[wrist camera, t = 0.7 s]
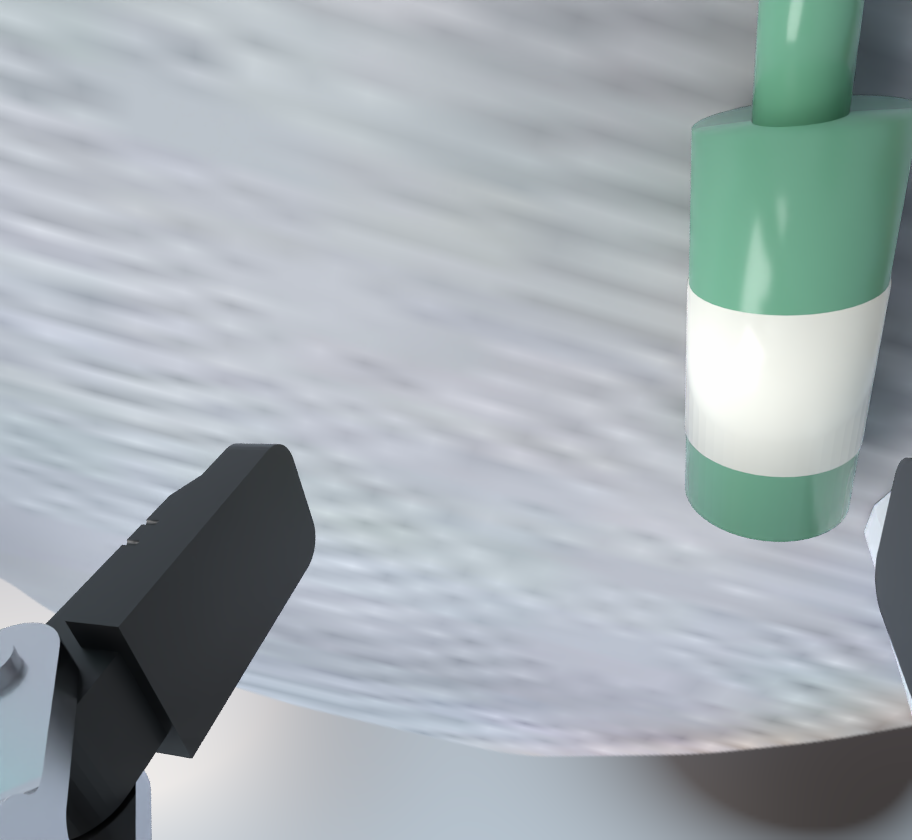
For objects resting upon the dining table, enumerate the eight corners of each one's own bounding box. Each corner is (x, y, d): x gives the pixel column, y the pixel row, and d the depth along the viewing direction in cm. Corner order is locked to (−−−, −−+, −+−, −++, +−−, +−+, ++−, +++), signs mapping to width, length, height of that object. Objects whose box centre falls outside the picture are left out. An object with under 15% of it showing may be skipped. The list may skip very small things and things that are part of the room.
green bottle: (676, -86, 20) (721, -111, 15) (901, -132, 19) (1032, -175, 14) (672, 452, 30) (699, 546, 25) (819, 442, 29) (878, 538, 24)
